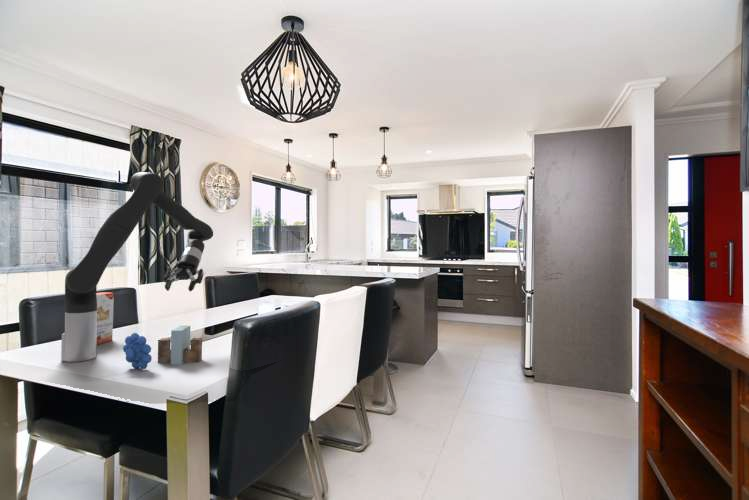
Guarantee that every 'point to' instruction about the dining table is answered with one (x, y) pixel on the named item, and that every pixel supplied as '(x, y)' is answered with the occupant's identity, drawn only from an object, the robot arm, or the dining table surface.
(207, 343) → the dining table surface
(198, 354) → the brown u-shaped block
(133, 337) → the grapes
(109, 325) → the cracker box
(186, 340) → the light blue block
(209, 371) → the dining table surface
